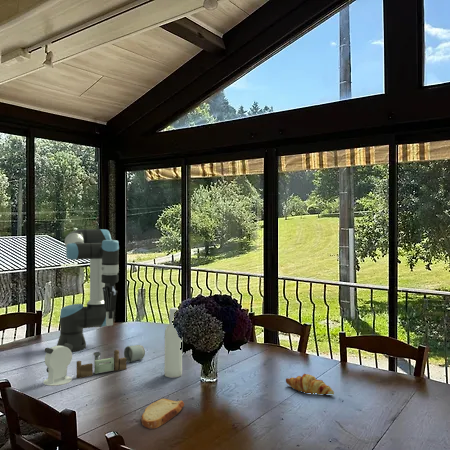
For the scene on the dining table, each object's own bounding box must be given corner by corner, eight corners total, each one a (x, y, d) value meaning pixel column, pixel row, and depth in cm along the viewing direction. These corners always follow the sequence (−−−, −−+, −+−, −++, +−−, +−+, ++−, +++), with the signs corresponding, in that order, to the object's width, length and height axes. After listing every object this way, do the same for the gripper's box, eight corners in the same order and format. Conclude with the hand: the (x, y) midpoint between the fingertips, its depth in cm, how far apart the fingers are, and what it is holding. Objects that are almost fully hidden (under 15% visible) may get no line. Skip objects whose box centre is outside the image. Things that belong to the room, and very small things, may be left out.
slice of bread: (146, 431, 146) (146, 419, 146) (132, 410, 162) (132, 400, 162) (196, 421, 154) (196, 410, 154) (179, 402, 170) (179, 392, 170)
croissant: (336, 403, 178) (339, 383, 181) (328, 398, 171) (332, 377, 174) (288, 390, 190) (292, 372, 193) (279, 386, 182) (283, 366, 185)
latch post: (93, 372, 202) (93, 352, 202) (98, 371, 204) (98, 351, 204) (95, 373, 200) (95, 353, 200) (100, 372, 202) (100, 353, 202)
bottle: (166, 371, 204) (166, 306, 204) (183, 372, 204) (183, 306, 204) (163, 377, 196) (163, 309, 196) (180, 378, 196) (181, 310, 196)
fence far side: (75, 377, 196) (76, 361, 196) (91, 374, 200) (91, 358, 200) (77, 378, 194) (77, 362, 194) (92, 375, 198) (92, 359, 198)
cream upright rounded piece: (62, 374, 199) (63, 341, 199) (78, 379, 193) (78, 345, 193) (38, 382, 190) (38, 346, 190) (53, 387, 183) (54, 351, 183)
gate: (112, 369, 205) (112, 357, 205) (113, 370, 204) (113, 358, 204) (94, 372, 200) (94, 360, 200) (95, 373, 199) (95, 361, 199)
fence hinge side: (112, 370, 206) (113, 349, 206) (124, 367, 209) (124, 347, 209) (114, 371, 204) (114, 350, 204) (126, 369, 207) (126, 348, 207)
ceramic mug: (146, 360, 221) (146, 344, 221) (132, 363, 215) (132, 348, 215) (133, 356, 228) (133, 341, 228) (119, 359, 222) (119, 344, 222)
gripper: (97, 272, 205) (96, 323, 206) (107, 276, 195) (106, 329, 195) (112, 271, 210) (112, 321, 210) (123, 275, 199) (122, 327, 200)
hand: (109, 325), depth 203 cm, fingers closed
